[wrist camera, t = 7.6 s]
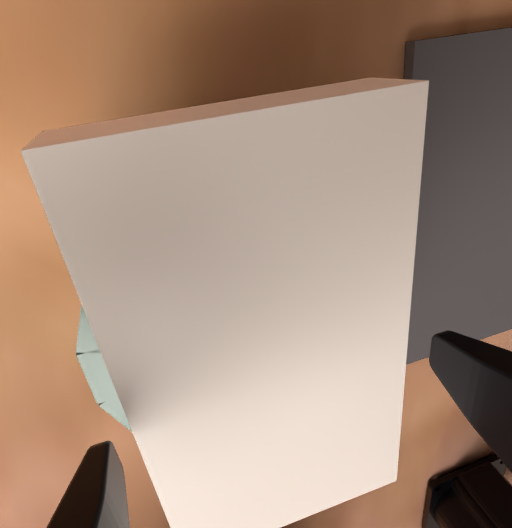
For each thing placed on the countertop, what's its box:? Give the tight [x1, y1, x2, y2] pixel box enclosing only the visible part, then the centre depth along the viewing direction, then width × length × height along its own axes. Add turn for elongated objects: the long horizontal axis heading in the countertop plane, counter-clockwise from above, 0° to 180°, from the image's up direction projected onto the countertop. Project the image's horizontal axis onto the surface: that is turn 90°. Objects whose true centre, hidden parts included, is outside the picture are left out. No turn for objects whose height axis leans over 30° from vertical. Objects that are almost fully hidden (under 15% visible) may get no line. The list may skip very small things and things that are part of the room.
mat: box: [404, 27, 512, 365], centre depth 18 cm, size 15×10×1 cm, turn 7°
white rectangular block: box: [21, 77, 429, 528], centre depth 10 cm, size 12×7×2 cm, turn 7°
